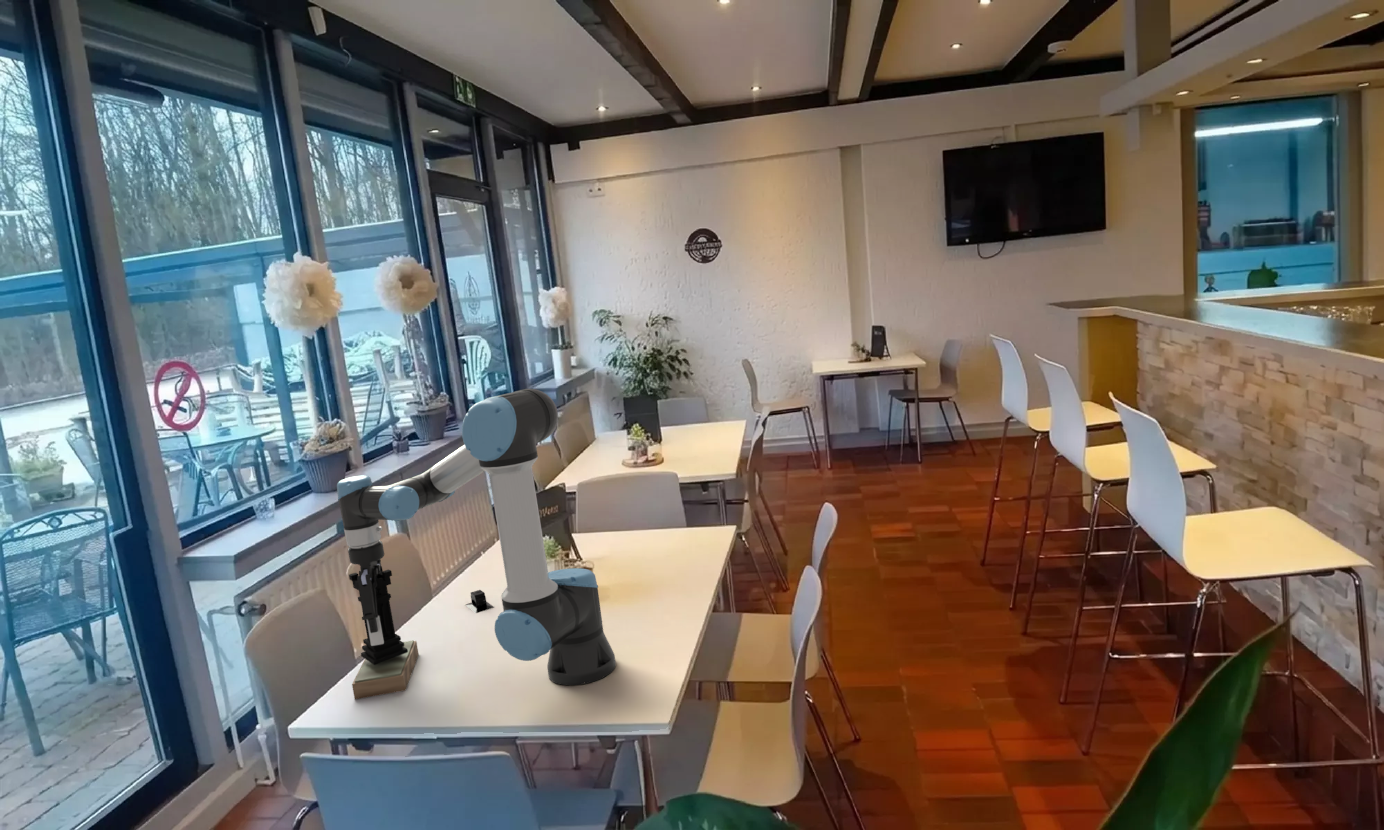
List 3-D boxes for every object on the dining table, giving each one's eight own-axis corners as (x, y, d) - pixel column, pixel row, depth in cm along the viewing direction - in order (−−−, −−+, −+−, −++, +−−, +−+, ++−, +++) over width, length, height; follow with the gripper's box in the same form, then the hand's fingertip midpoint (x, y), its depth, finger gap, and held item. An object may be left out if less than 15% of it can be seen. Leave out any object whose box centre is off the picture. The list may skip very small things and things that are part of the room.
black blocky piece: (499, 610, 238) (497, 594, 238) (474, 618, 235) (471, 602, 234) (484, 598, 249) (481, 583, 248) (459, 606, 245) (457, 590, 244)
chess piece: (361, 656, 201) (346, 574, 198) (394, 644, 206) (380, 564, 203) (374, 664, 195) (359, 581, 192) (407, 652, 200) (393, 570, 197)
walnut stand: (405, 690, 193) (402, 673, 192) (354, 699, 191) (351, 682, 190) (418, 654, 212) (416, 639, 212) (372, 662, 211) (369, 646, 210)
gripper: (372, 554, 187) (389, 651, 190) (390, 528, 208) (405, 616, 211) (336, 559, 186) (354, 658, 189) (357, 533, 207) (374, 622, 210)
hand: (381, 636), depth 200 cm, fingers closed on chess piece, 9 cm apart
